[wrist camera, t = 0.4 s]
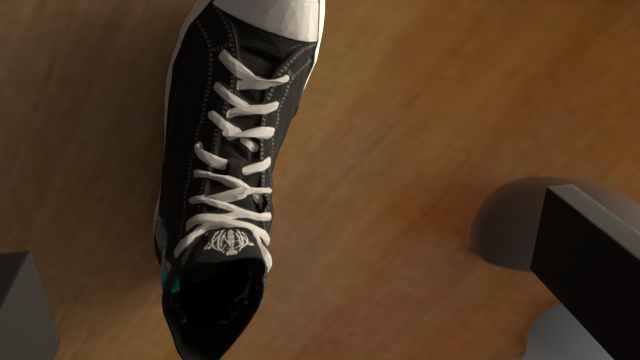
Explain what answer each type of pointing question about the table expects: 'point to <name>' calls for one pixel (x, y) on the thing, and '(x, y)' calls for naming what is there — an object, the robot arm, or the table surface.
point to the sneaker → (226, 160)
